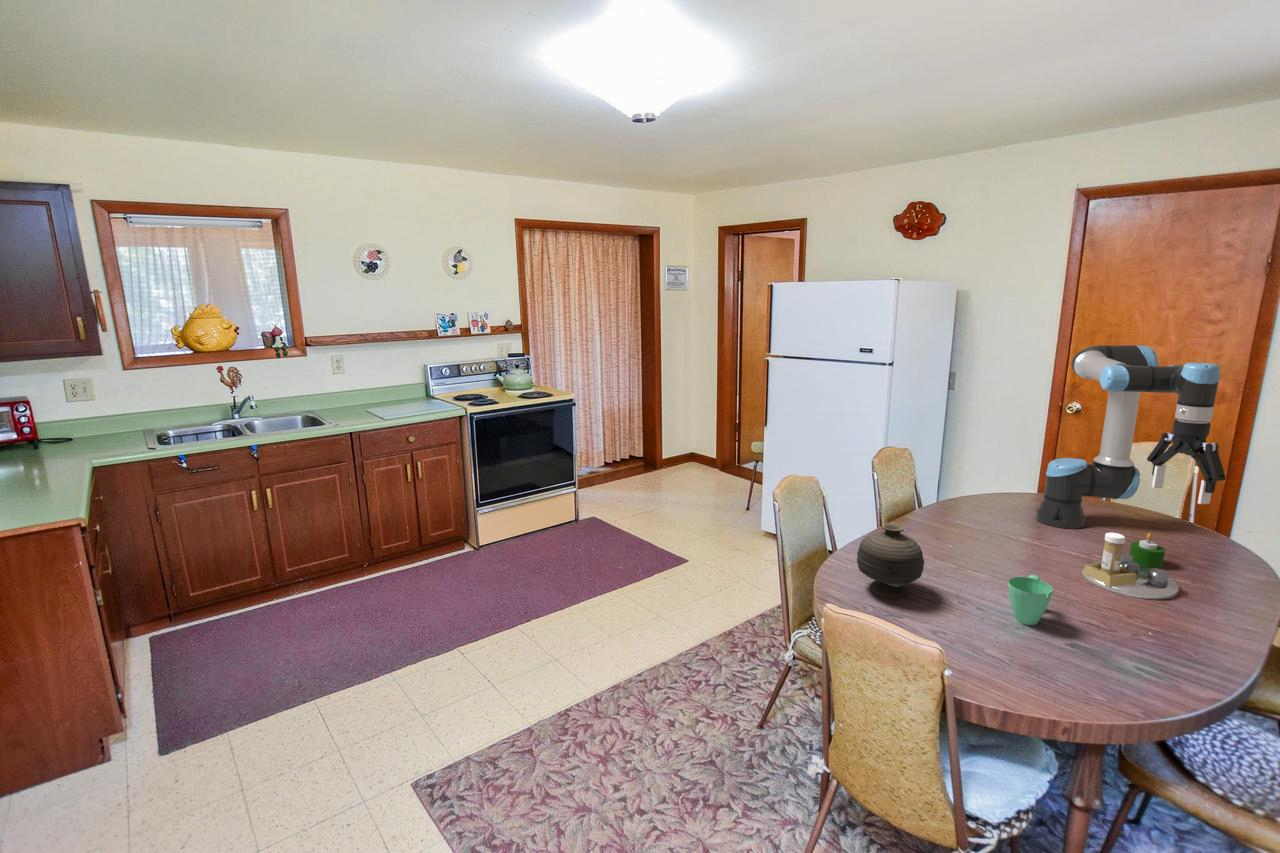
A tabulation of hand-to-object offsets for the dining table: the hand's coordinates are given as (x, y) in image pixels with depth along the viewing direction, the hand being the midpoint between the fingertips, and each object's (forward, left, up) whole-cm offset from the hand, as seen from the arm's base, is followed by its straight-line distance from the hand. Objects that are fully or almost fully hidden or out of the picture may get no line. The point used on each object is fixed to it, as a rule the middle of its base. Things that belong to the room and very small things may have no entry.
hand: (1179, 495), depth 172 cm
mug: (+9, -50, -28) cm, 58 cm away
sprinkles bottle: (-4, -14, -26) cm, 30 cm away
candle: (-14, +9, -28) cm, 33 cm away
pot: (-11, -78, -28) cm, 84 cm away
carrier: (-4, -7, -27) cm, 29 cm away
